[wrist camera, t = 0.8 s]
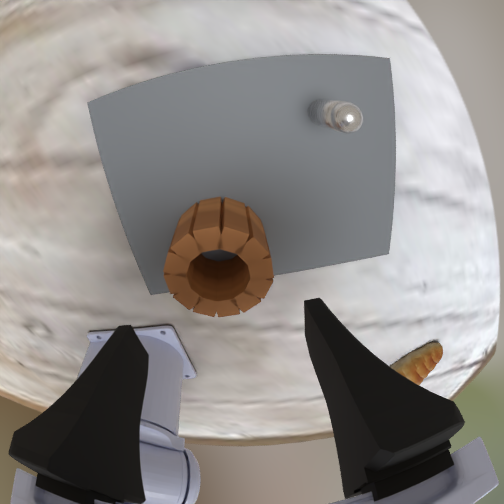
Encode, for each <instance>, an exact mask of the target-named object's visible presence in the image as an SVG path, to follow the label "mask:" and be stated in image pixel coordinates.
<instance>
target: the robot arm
mask: <svg viewBox="0 0 504 504" xmlns="http://www.w3.org/2000/svg"><path fill="white" fill-rule="evenodd" d="M304 314H305V337H306V341H307V346H308V350H309V354H310V358H311V361H312V364H313V366H314V369H315V372H316V375H317V378H318V380H319V383H320V386H321V389H322V392H323V394H324V397H325V400H326V403H327V407H328V410H329V415H330V419H331V423H332V428H333V433H334V438H335V442H336V447H337V453H338V459H339V464H340V471H341V477H342V484H343V492H344V496H345V500H341V501H338V502H334V503H329V504H474V503H475V502H477V501H478V500H479V499H481V498H482V497H483V496H485V495H486V494H487V493H489V492H490V491H491V490H493V489H494V488H495V487H496V486H498V484H499V482H498V479H497V476H496V473H495V471H494V468H493V465H492V463H491V460H490V458H489V455H488V453H487V450H486V448H485V445H484V443H483V441H482V439H481V437H478V438H476V439H475V440H473V441H471V442H470V443H468V444H467V445H465V446H464V447H462V448H460V449H459V450H457V451H455V452H454V453H452V454H451V455H450V452H449V450H448V449H450V448H451V444H450V441H449V439H450V438H451V437H452V436H453V435H454V434H456V433H457V432H458V431H459V430H460V429H461V428H462V427H463V425H464V423H465V421H464V419H463V417H462V415H461V413H460V411H459V409H458V407H457V406H456V404H455V403H454V402H453V401H451V400H448V399H446V398H444V397H441V396H439V395H437V394H435V393H432V392H430V391H428V390H427V389H425V388H423V387H421V386H419V385H417V384H416V383H414V382H412V381H411V380H409V379H408V378H406V377H404V376H403V375H401V374H399V373H398V372H396V371H395V370H394V369H392V368H391V367H389V366H388V365H387V364H385V363H384V362H383V361H382V360H380V359H379V358H378V357H376V356H375V355H374V354H373V353H372V352H371V351H369V350H368V349H367V348H366V347H365V346H364V345H363V344H362V343H361V342H359V341H358V340H357V339H356V338H355V337H354V336H353V335H352V334H351V333H350V332H349V330H348V329H347V328H346V327H345V326H344V325H343V324H342V323H341V322H340V321H339V320H338V319H337V318H336V316H335V315H334V314H333V313H332V312H331V311H330V309H329V308H328V307H327V306H326V304H325V303H324V302H323V301H322V299H320V298H316V299H310V300H305V301H304ZM163 331H165V332H163ZM87 338H88V339H89V341H90V345H89V347H88V350H87V353H86V355H85V358H84V361H83V363H82V366H81V369H80V372H79V375H78V377H77V380H76V381H75V382H74V384H73V385H72V386H71V387H70V388H69V389H68V390H67V391H66V392H65V393H64V394H63V395H62V396H61V397H60V398H59V399H58V400H57V401H56V402H55V403H54V404H52V405H51V406H50V407H49V408H48V409H47V410H46V411H44V412H43V413H42V414H41V415H39V416H38V417H37V418H35V419H34V420H32V421H31V422H30V423H28V424H26V425H25V426H23V427H22V428H20V429H18V430H16V431H15V432H14V434H13V438H12V442H11V446H10V449H9V455H10V456H11V457H12V458H14V459H15V460H17V461H18V462H20V463H21V464H23V465H25V466H27V467H28V468H30V469H32V470H33V471H35V472H37V473H38V475H37V477H35V476H33V475H31V474H29V473H27V472H25V471H23V470H21V469H19V468H17V470H16V474H15V480H14V485H13V490H12V497H11V504H195V502H196V500H197V497H198V494H199V489H200V469H199V464H198V462H197V460H196V458H195V457H194V455H193V453H192V452H191V451H190V450H188V449H186V448H184V443H185V439H184V438H181V437H178V428H179V413H180V400H181V388H182V379H191V378H195V377H196V376H197V373H196V371H195V369H194V367H193V366H192V364H191V362H190V360H189V358H188V356H187V354H186V352H185V350H184V348H183V346H182V344H181V342H180V340H179V338H178V336H177V334H176V332H175V330H174V328H173V327H171V326H158V327H148V328H138V329H133V328H132V326H131V325H124V326H119V327H118V328H117V329H116V330H114V331H100V332H89V333H88V334H87ZM361 494H362V495H361ZM358 495H359V496H358ZM354 496H355V497H354ZM351 497H352V498H351ZM348 498H349V499H348Z"/></svg>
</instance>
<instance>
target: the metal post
mask: <svg viewBox="0 0 504 504" xmlns="http://www.w3.org/2000/svg"><path fill="white" fill-rule="evenodd" d="M308 115H309V118H310V119H311V120H312V121H313V122H314V123H316V124H319V125H322V126H325V127H327V128H330V129H333V130H336V131H339V132H341V133H345V134H350V133H354V132H356V131H357V130H358V129H359V128H360V127H361V125H362V122H363V115H362V112H361V110H360V109H359V108H358V107H357V106H356V105H355V104H353V103H351V102H347V101H335V100H315V101H313V102H312V103H311V104H310V105H309V108H308Z"/></svg>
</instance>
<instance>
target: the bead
mask: <svg viewBox="0 0 504 504" xmlns="http://www.w3.org/2000/svg"><path fill="white" fill-rule="evenodd" d="M217 249H221V250H225V251H228V252H232V253H235V254H237V255H236V256H235V257H234V258H232V259H230V260H224V261H215V260H211V259H208V258H205V257H204V256H203V255H202V254H201V253H202V252H206V251H212V250H217ZM163 272H164V275H163V276H164V279H165V281H166V284H167V286H168V289H169V291H170V294H174V295H173V298H175V299H176V300H177V301H178V302H180V303H181V304H182V305H184V306H185V307H186V308H187V309H189V310H190V309H191V308H193V307H194V309H193V312H196V313H200V314H204V315H208V316H212V317H214V316H215V314H216V311H217V314H218V317H224V316H231V315H237V314H240V310H241V311H242V312H246V311H247V310H249V309H250V308H252V307H253V306H255V305H257V304H258V303H260V302H261V298H263V299H264V298H265V296H266V294H267V292H268V290H269V288H270V286H271V285H272V283H273V279H272V278H274V275H273V267H272V259H271V255H270V251H269V247H268V243H267V239H266V235H265V231H264V228H263V224H262V223H261V219H260V218H259V217H258V216H257V215H256V214H255V213H254V212H253V210H252V209H251V208H250V207H249V206H247V207H245V203H242V202H239V201H236V200H233V199H230V198H227V197H225V198H224V201H223V203H222V201H221V197H215V198H210V199H205V200H200V203H199V204H198V203H197V202H196V203H195V204H194V205H193V206H191V207H190V208H189V209H188V210H187V211H186V212H184V213H183V214H182V216H181V218H180V219H179V221H178V224H177V227H176V230H175V233H174V236H173V239H172V242H171V244H170V247H169V250H168V254H167V258H166V262H165V266H164V270H163ZM239 309H240V310H239Z"/></svg>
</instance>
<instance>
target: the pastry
mask: <svg viewBox="0 0 504 504" xmlns="http://www.w3.org/2000/svg"><path fill="white" fill-rule="evenodd" d="M442 355H443V348H442V346H441V344H440V343H435V342H432V343H428V344H426V345H425V346H423V347H421V348H419V349H417V350H415V351H412V352H410V353H408V354H407V355H406V356H405V357H403V358H401V359H400V360H398V361H397V362H395V363H394V364H392V365H391V366H389V367H391V368H392V369H394V370H395V371H396V372H398V373H399V374H401V375H403V376H404V377H406V378H408V379H409V380H411V381H412V382H414V383H416V384H417V385H420V384H421V382H422V381H423V379H424V378H426V377H427V375H428V374H429V373H430V371H432V370H433V369H434V368H435V366H436V364H437V363H438V362H439V361H440V359H441V358H442Z"/></svg>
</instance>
